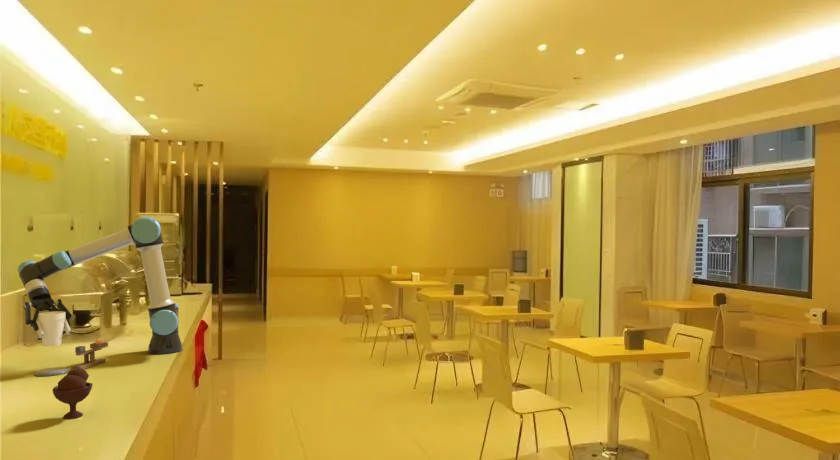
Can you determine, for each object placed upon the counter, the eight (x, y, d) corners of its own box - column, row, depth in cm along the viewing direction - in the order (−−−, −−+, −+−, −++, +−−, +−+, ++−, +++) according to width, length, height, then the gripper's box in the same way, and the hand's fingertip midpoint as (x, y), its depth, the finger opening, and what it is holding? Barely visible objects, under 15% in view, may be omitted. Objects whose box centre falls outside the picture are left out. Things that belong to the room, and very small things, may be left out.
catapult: (108, 361, 264) (108, 340, 264) (81, 370, 248) (81, 348, 248) (98, 361, 265) (98, 340, 265) (71, 369, 249) (71, 347, 249)
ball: (104, 345, 263) (104, 338, 263) (99, 347, 260) (99, 339, 260) (98, 345, 264) (98, 338, 264) (93, 346, 260) (93, 339, 260)
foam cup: (52, 347, 238) (52, 315, 238) (32, 346, 240) (32, 314, 240) (70, 343, 247) (70, 311, 247) (51, 342, 249) (51, 311, 249)
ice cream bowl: (63, 411, 192) (62, 365, 192) (99, 410, 193) (99, 364, 193) (45, 422, 182) (45, 373, 182) (83, 421, 183) (83, 372, 183)
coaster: (76, 369, 248) (76, 367, 248) (54, 377, 237) (54, 374, 237) (51, 368, 250) (51, 366, 250) (27, 375, 239) (27, 373, 239)
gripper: (62, 295, 261) (80, 335, 252) (5, 300, 243) (22, 344, 234) (68, 284, 258) (87, 324, 249) (10, 288, 240) (28, 332, 231)
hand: (55, 334), depth 242 cm, fingers closed on foam cup, 9 cm apart
